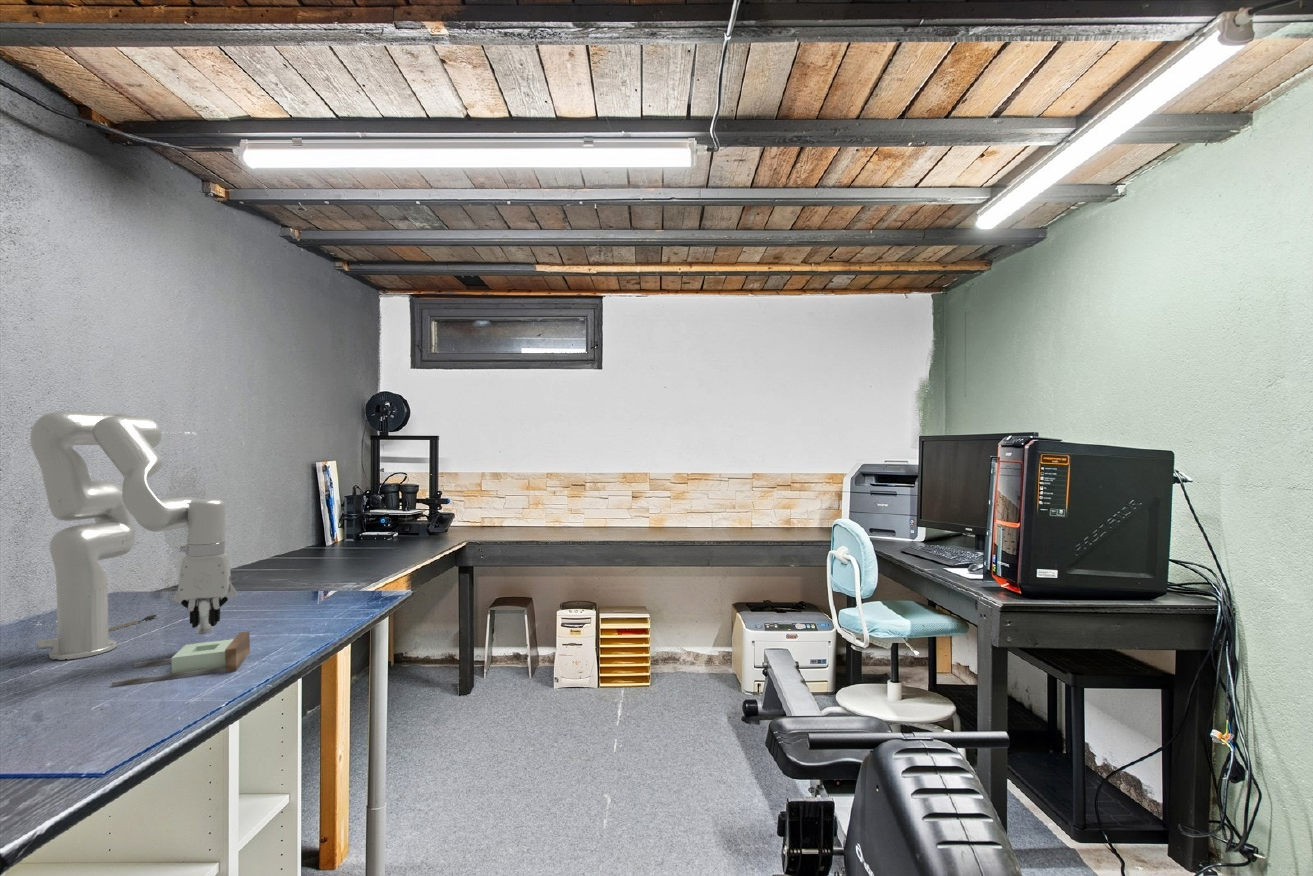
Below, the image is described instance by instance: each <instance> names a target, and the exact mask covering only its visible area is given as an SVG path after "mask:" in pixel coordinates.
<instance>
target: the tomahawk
mask: <svg viewBox="0 0 1313 876" xmlns="http://www.w3.org/2000/svg"><path fill="white" fill-rule="evenodd" d="M156 617H158V615H157V614H152V615H149V616H146V617H144V618H143V619H141V620H138V621H137V620H136V621H131V622H128V623H125V624H121V625H118V626H114V627H110V628H108V633H109V631H110V632H113V631H112V630H114V631H116V630H115V629H117V630H120V629H119V628H121V627H124V628H127V627H131V626H134V625H133V624H135V623H138V624H141V622H142V621H144V620H145V621H146V622H148V621H149V620H151V619H154V618H156ZM147 620H148V621H147ZM142 623H143V622H142ZM130 625H131V626H130ZM135 625H136V624H135ZM121 629H122V628H121Z"/></svg>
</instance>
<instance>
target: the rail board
mask: <svg viewBox="0 0 1313 876" xmlns="http://www.w3.org/2000/svg"><path fill="white" fill-rule="evenodd" d="M233 639H234V640H233V641H232V642H231V643H230V644H229V646H228V647H227V648H226V649H225V667H218V668H210V669H203V670H195V671H187V672H179V673H172V672H171V673H166V674H164V673H163V674H158V675H150V676H143V677H142V676H141V677H135V678H127V679H119V680H112V681H111V688H113V687H121V686H129V685H136V684H143V683H144V684H145V683H152V682H161V681H169V680H175V679H181V678H182V679H183V678H190V677H197V676H205V675H212V674H219V673H221V674H222V673H233V672H237V671H238V670H239V668H240V667H241V665H242V664H243V663H244V661H245V660H246V659H247V657H248V656H249V655H250V653H251V642H250V631H241V632H239V633H238V634H237V635H236V636H235V638H233ZM169 664H171V665H172V657H171V658H164V659H163V658H162V659H154V660H148V661H138V662H134V667H133V668H134V669H137V668H144V667H146V668H147V667H152V666H153V667H154V666H162V665H169Z"/></svg>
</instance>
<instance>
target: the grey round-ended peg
mask: <svg viewBox="0 0 1313 876" xmlns="http://www.w3.org/2000/svg"><path fill="white" fill-rule="evenodd" d="M212 609H213V598H202V599H197V627H196V634H198V635H206V634H210V633H213V632H214V626H211V610H212Z"/></svg>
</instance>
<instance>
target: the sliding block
mask: <svg viewBox="0 0 1313 876" xmlns="http://www.w3.org/2000/svg"><path fill="white" fill-rule="evenodd" d="M234 639H235V638H233V639H232V638H231V639H225V640H224V639H223V640H215V641H207V642H206V641H205V642H198V643H190V644H189V643H188V644H185V645H183V646H182V647H181V649H179V650H178V651H177V652H176V653H175V654H174V655H173V656H172V657H171V658H172V663H171V674H172V673H179V672H187V671H195V670H203V669H210V668H218V667H225V649H226V648H227V647H228V646H229V644H230V643H231V642H232V641H233V640H234Z"/></svg>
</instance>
